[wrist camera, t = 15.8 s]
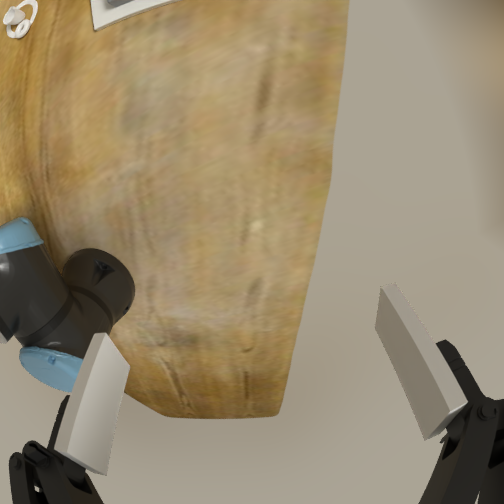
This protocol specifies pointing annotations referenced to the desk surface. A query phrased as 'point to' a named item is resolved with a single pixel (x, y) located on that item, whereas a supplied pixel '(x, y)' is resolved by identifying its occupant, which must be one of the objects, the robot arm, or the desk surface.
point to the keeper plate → (121, 10)
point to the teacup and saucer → (19, 19)
